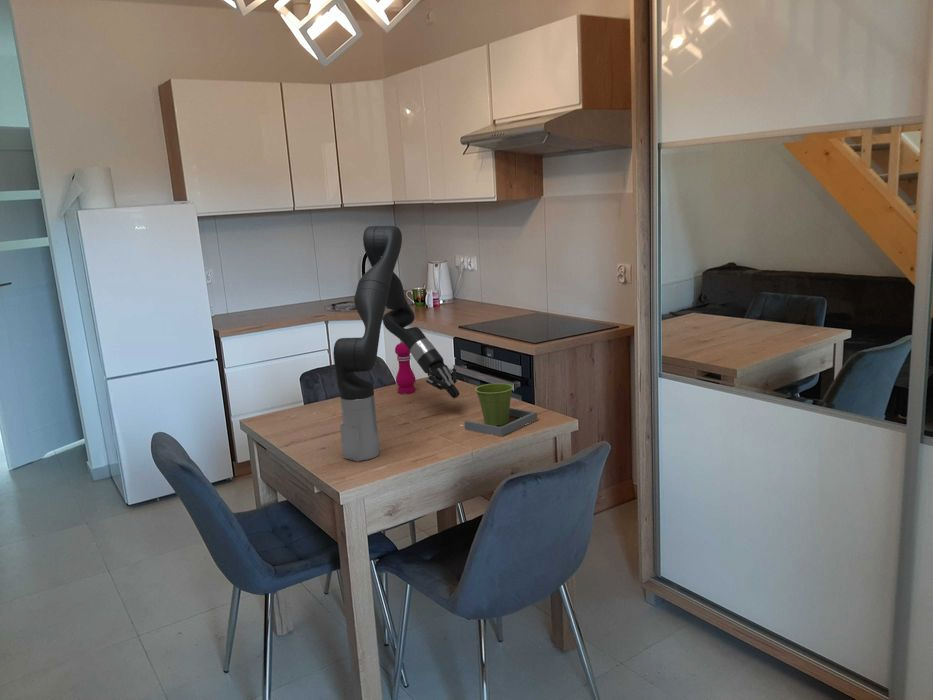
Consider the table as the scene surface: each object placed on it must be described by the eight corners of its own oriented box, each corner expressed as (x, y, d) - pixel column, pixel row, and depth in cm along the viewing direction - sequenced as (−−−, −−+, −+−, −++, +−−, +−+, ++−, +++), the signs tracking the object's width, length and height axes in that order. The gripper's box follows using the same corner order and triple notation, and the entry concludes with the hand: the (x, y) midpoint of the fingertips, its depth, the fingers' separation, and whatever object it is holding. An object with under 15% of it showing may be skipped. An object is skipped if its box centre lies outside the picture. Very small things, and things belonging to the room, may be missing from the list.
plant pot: (519, 417, 224) (517, 382, 222) (510, 429, 213) (509, 393, 211) (482, 416, 228) (480, 382, 226) (472, 428, 217) (470, 392, 214)
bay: (501, 436, 207) (501, 428, 207) (464, 429, 216) (464, 421, 216) (537, 420, 221) (536, 412, 220) (501, 413, 230) (500, 406, 229)
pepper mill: (413, 394, 260) (409, 340, 256) (394, 394, 262) (389, 340, 258) (418, 389, 267) (414, 336, 263) (400, 389, 269) (395, 337, 265)
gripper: (417, 352, 227) (448, 394, 221) (445, 344, 236) (476, 384, 231) (406, 366, 231) (437, 408, 226) (434, 358, 241) (464, 398, 235)
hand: (456, 396), depth 228 cm, fingers closed
